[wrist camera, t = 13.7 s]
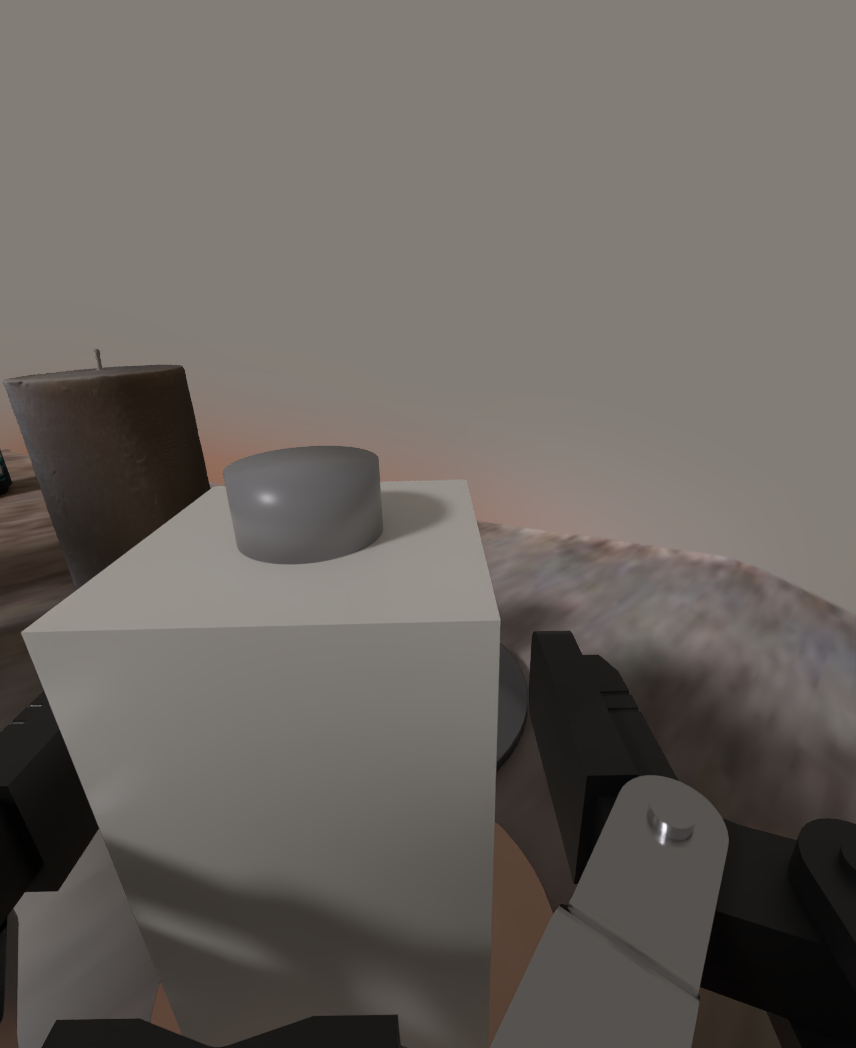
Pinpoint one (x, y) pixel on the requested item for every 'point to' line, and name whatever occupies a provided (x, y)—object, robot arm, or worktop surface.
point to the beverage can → (4, 476)
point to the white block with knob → (296, 746)
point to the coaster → (512, 932)
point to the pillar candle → (110, 455)
